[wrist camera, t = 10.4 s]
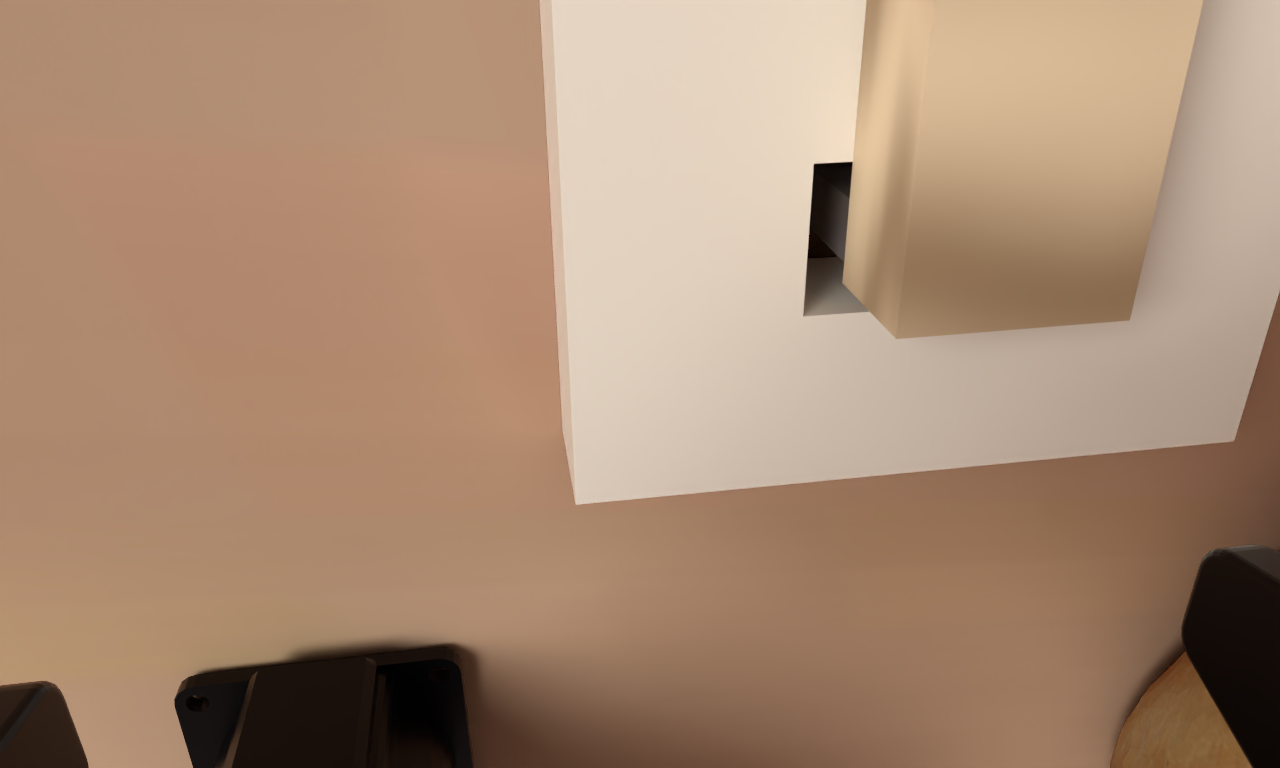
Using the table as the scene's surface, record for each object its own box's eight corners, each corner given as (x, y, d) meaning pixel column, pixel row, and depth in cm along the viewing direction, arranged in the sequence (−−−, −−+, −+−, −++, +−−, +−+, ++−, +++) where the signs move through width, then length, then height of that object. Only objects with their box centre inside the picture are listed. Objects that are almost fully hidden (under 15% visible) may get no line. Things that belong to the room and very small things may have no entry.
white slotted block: (1146, 379, 23) (1234, 441, 21) (562, 429, 22) (575, 504, 19) (1263, -85, 19) (1392, -81, 16) (535, -73, 17) (548, -66, 14)
